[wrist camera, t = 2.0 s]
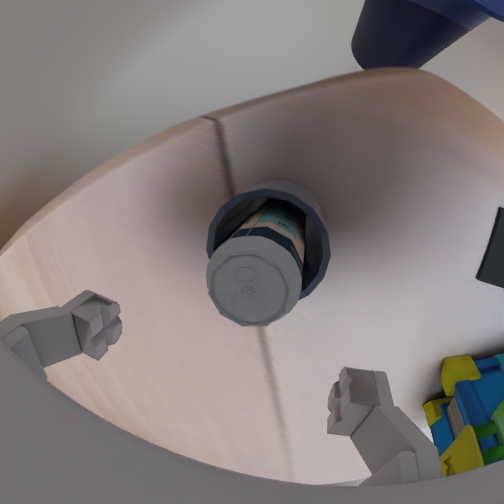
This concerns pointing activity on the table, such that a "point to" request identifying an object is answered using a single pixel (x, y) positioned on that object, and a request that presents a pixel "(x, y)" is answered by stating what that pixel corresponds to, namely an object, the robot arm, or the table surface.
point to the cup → (303, 200)
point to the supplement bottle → (260, 266)
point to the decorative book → (469, 414)
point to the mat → (494, 255)
